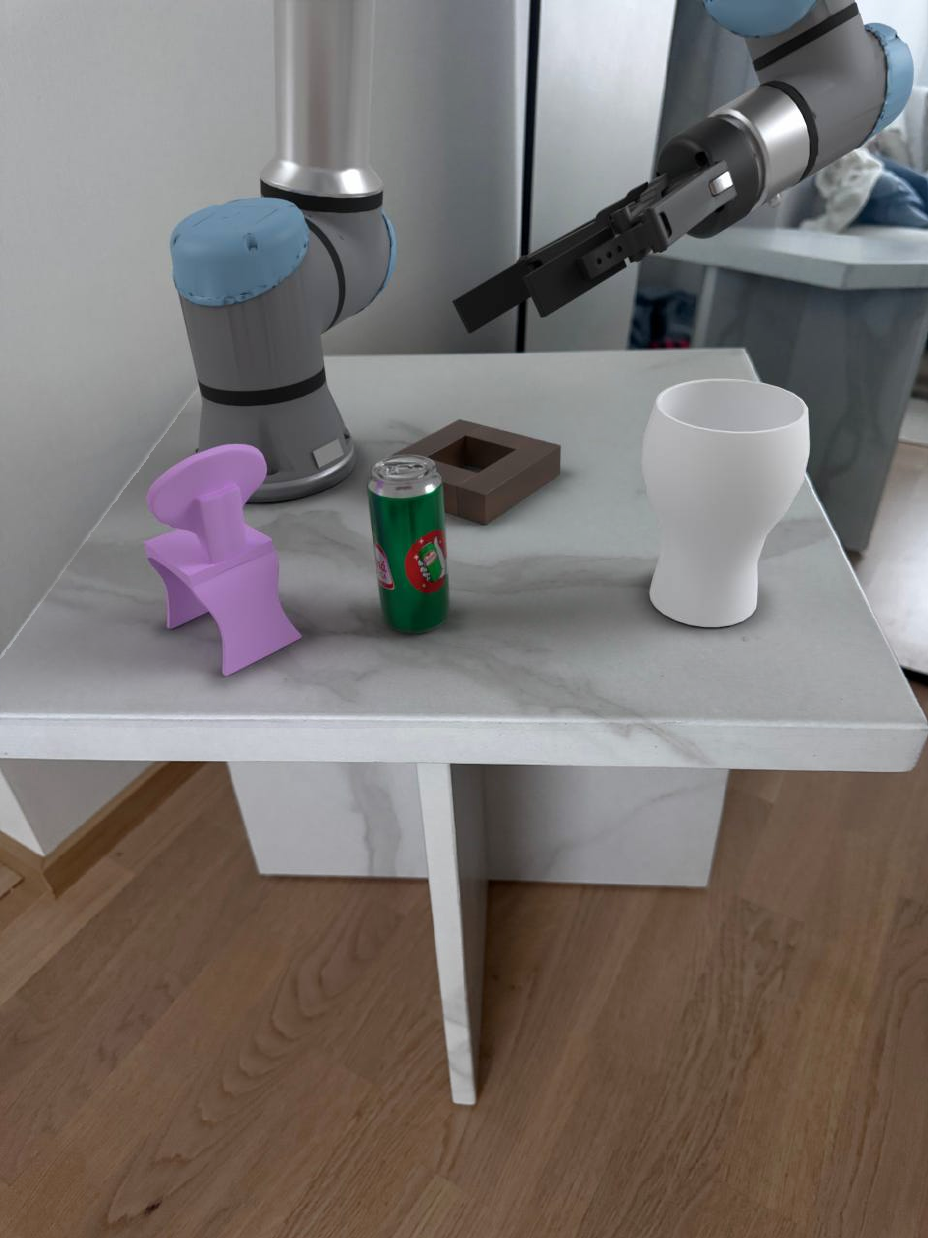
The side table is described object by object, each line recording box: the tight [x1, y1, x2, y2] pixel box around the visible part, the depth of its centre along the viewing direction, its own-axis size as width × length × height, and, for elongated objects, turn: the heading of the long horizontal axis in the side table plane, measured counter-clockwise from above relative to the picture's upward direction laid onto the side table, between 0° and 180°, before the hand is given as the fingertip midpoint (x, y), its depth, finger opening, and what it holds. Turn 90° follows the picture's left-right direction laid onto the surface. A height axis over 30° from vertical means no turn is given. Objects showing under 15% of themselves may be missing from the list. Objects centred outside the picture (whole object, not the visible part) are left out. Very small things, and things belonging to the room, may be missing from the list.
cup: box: [640, 378, 811, 628], centre depth 60 cm, size 11×11×15 cm
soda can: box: [366, 454, 451, 635], centre depth 60 cm, size 5×5×12 cm
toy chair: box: [142, 444, 303, 677], centre depth 59 cm, size 8×9×15 cm
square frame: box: [388, 418, 562, 526], centre depth 80 cm, size 12×12×3 cm
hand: (493, 308), depth 60 cm, fingers open, 13 cm apart
